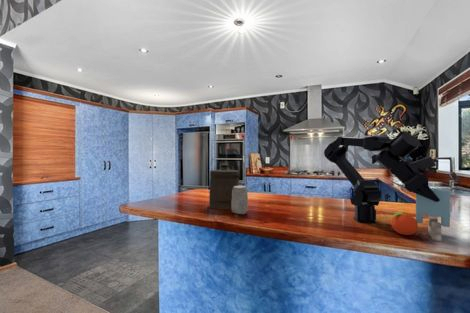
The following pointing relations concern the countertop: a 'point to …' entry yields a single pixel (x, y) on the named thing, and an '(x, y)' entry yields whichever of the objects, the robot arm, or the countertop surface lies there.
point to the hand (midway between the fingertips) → (437, 200)
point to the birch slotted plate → (434, 228)
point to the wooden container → (222, 187)
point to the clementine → (404, 223)
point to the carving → (239, 199)
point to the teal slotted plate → (434, 207)
